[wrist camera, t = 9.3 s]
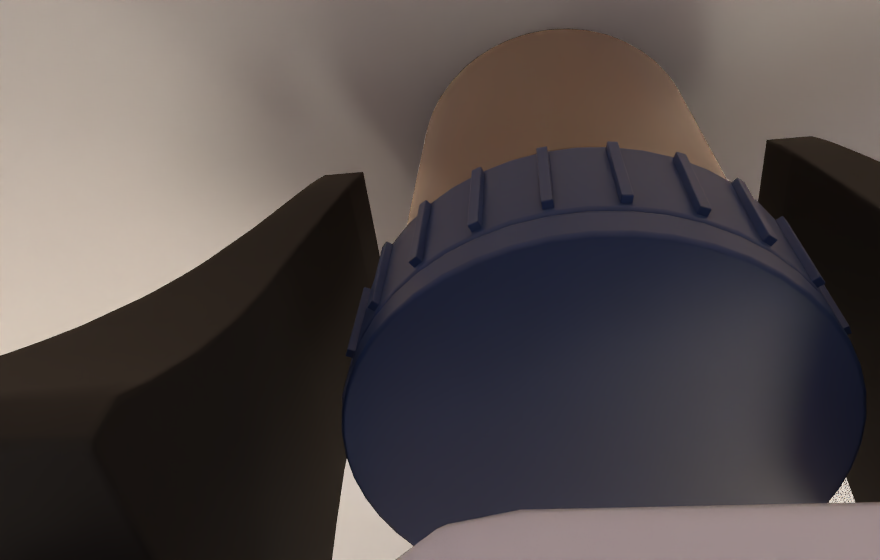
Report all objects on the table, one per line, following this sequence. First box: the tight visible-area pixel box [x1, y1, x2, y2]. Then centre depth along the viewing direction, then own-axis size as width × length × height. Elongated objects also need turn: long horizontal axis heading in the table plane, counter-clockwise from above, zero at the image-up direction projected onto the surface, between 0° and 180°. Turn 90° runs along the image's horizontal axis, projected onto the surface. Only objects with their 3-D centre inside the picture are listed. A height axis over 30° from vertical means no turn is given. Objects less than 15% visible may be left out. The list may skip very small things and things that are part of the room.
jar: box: [407, 29, 727, 225], centre depth 10 cm, size 5×5×6 cm
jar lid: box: [342, 141, 866, 546], centre depth 8 cm, size 5×5×2 cm
